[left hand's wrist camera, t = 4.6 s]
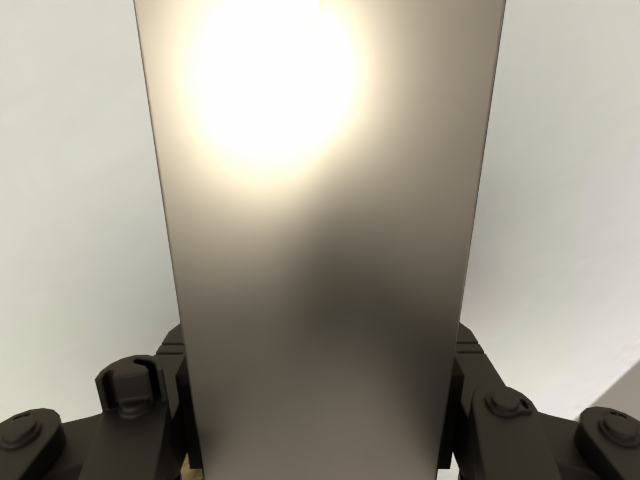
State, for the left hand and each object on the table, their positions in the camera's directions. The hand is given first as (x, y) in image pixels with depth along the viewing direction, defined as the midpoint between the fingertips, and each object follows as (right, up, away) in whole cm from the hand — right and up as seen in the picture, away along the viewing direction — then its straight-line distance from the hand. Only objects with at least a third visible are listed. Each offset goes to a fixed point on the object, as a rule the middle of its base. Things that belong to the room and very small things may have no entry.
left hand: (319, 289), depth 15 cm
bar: (0, +8, -2) cm, 8 cm away
